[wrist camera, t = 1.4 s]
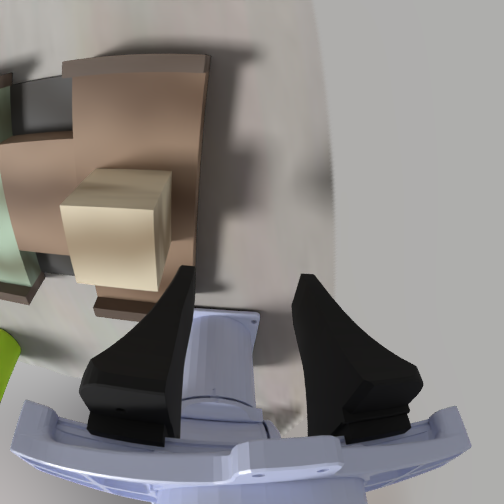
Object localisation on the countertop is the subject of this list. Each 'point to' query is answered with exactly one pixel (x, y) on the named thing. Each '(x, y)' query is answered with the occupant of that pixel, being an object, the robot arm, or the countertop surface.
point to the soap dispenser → (7, 358)
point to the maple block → (119, 228)
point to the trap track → (97, 161)
